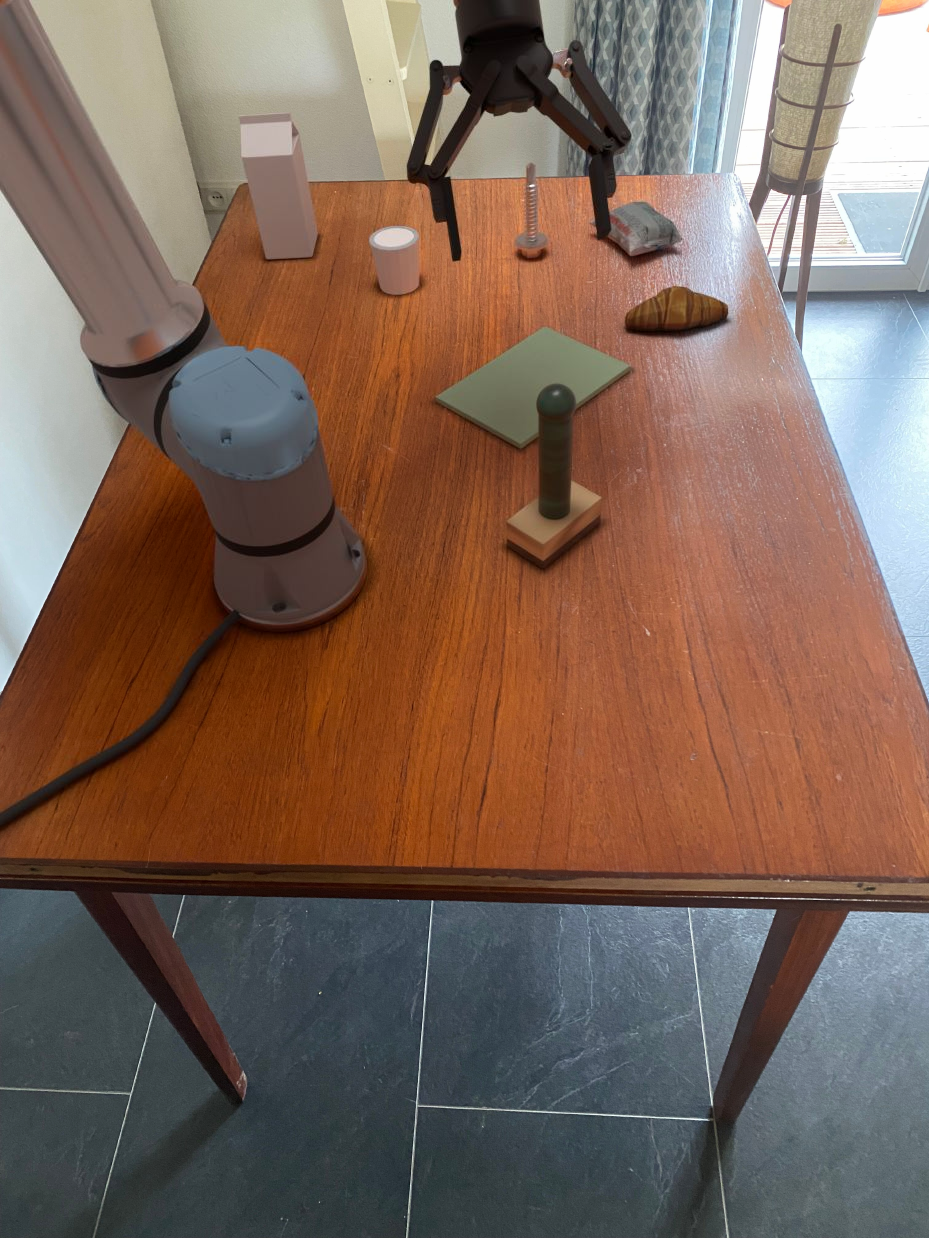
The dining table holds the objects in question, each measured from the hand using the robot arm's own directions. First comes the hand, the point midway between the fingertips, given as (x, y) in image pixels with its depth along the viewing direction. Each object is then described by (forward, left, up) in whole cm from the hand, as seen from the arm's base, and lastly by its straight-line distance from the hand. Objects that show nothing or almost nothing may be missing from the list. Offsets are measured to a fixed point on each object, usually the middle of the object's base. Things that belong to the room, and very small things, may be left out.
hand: (530, 246), depth 82 cm
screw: (+35, +32, -26) cm, 54 cm away
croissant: (+33, +5, -26) cm, 42 cm away
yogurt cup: (+17, +41, -26) cm, 51 cm away
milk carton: (+14, +62, -26) cm, 68 cm away
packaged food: (+46, +22, -26) cm, 57 cm away
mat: (+11, +10, -26) cm, 30 cm away
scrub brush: (-7, -9, -26) cm, 28 cm away
